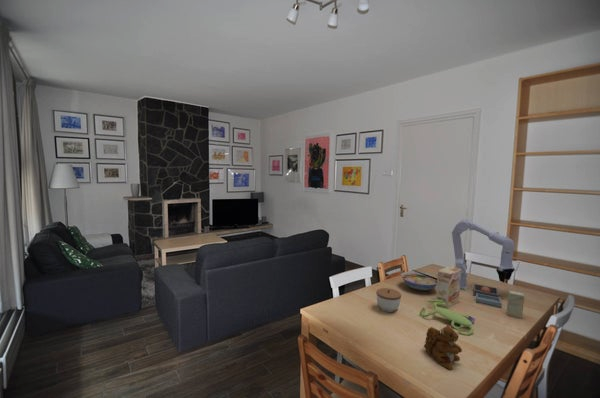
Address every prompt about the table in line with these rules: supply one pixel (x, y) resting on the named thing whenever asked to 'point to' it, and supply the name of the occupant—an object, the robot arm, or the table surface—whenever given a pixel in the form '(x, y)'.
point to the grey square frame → (492, 290)
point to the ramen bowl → (419, 280)
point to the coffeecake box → (448, 285)
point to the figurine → (451, 316)
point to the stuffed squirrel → (443, 345)
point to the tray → (488, 300)
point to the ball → (485, 289)
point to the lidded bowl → (388, 299)
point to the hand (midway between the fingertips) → (504, 280)
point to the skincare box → (515, 304)
